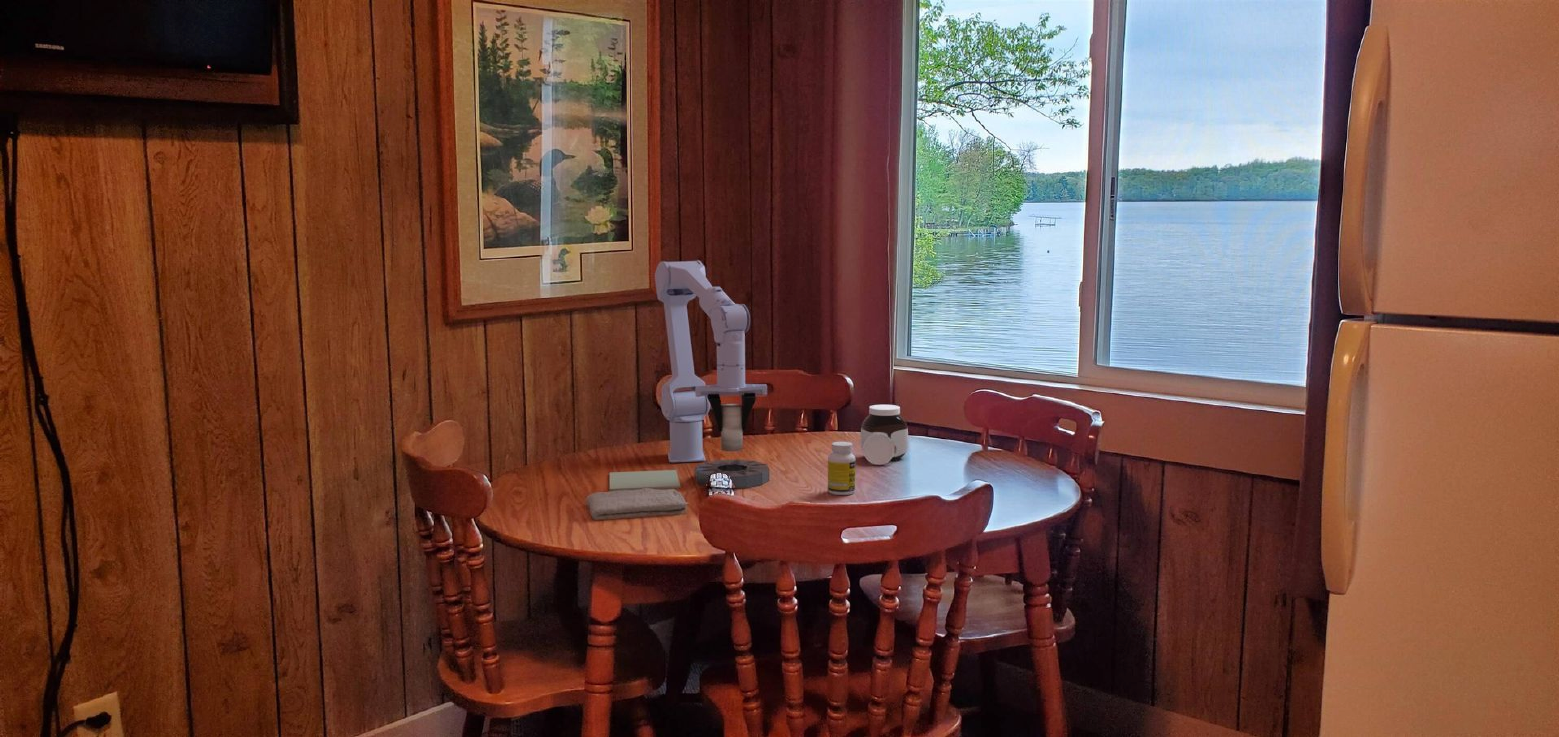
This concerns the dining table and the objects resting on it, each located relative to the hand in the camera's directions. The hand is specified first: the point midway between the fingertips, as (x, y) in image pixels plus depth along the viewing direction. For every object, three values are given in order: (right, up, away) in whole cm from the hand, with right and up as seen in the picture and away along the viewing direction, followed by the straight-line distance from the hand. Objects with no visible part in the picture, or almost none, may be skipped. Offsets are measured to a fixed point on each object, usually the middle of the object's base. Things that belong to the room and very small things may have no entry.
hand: (731, 430), depth 222 cm
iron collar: (0, -10, +1) cm, 10 cm away
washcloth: (-17, -14, -20) cm, 30 cm away
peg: (0, -4, +1) cm, 4 cm away
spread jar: (+33, -8, +18) cm, 38 cm away
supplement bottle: (+22, -12, -9) cm, 27 cm away
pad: (-18, -11, +1) cm, 21 cm away
